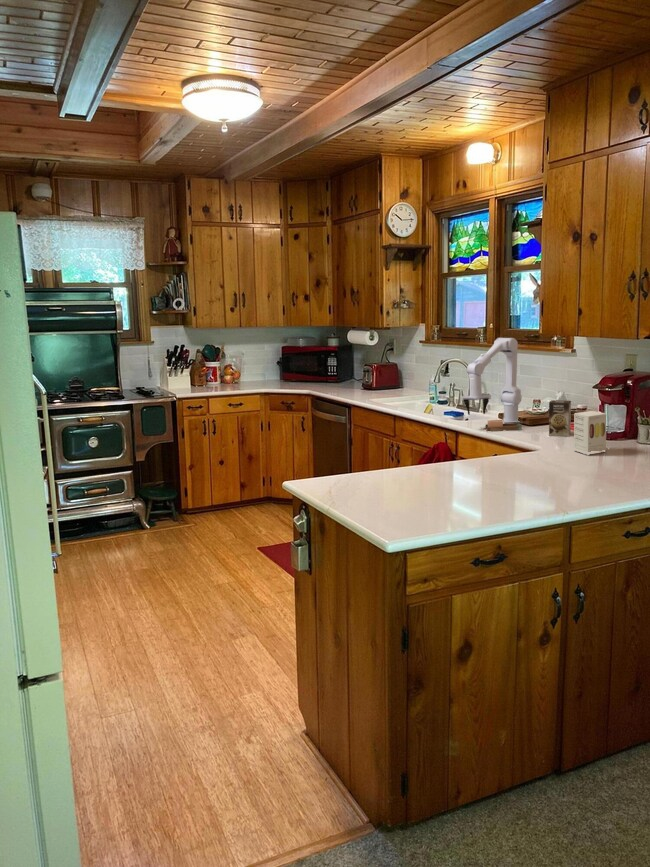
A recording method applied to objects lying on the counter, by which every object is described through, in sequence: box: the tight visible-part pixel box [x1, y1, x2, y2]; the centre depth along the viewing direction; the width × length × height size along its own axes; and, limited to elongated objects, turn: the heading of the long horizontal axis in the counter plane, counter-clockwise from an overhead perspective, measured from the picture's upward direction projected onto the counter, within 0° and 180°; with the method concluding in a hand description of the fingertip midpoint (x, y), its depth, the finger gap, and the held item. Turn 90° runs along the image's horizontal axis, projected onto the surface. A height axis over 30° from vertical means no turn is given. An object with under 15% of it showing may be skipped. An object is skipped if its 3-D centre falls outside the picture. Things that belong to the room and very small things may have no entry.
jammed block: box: [487, 419, 504, 427], centre depth 350 cm, size 4×7×4 cm, turn 83°
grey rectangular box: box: [548, 399, 572, 438], centre depth 327 cm, size 9×6×16 cm
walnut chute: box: [485, 421, 523, 432], centre depth 349 cm, size 8×17×3 cm, turn 82°
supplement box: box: [573, 410, 607, 452], centre depth 293 cm, size 10×9×17 cm
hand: (476, 414), depth 350 cm, fingers open, 7 cm apart
